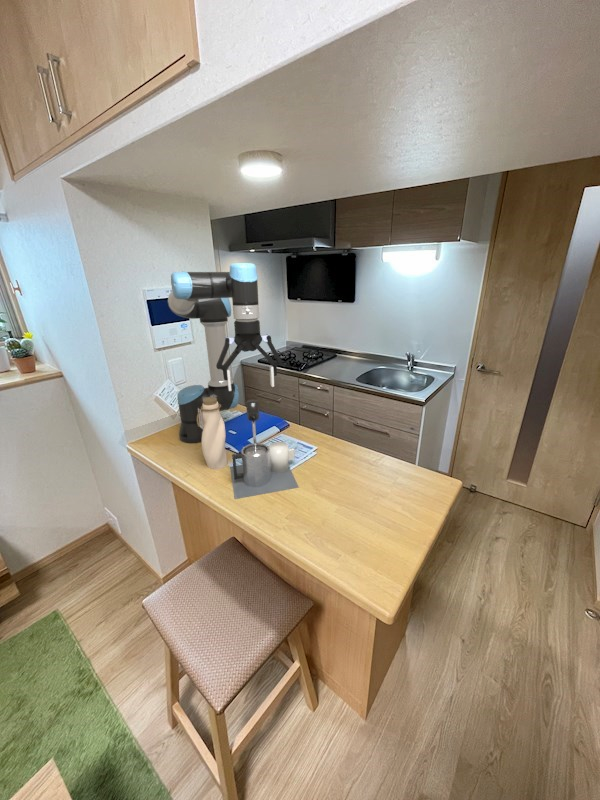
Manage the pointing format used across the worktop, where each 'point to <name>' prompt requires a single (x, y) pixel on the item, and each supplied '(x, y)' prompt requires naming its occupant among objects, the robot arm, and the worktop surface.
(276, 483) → the slate board
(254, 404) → the plunger
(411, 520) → the worktop surface
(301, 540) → the worktop surface
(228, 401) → the robot arm
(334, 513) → the worktop surface
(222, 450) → the water bottle
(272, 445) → the cream mug
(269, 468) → the press carafe
